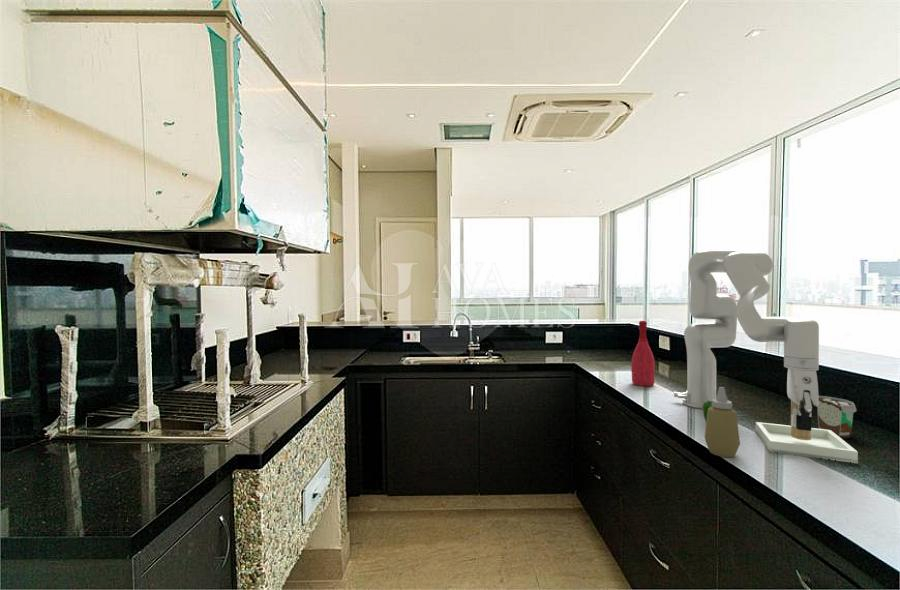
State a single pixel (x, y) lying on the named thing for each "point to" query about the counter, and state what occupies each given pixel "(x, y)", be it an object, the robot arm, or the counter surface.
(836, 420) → the food container
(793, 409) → the sprinkles bottle
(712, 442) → the squeeze bottle
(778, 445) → the tray
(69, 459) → the counter surface
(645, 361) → the wine bottle
